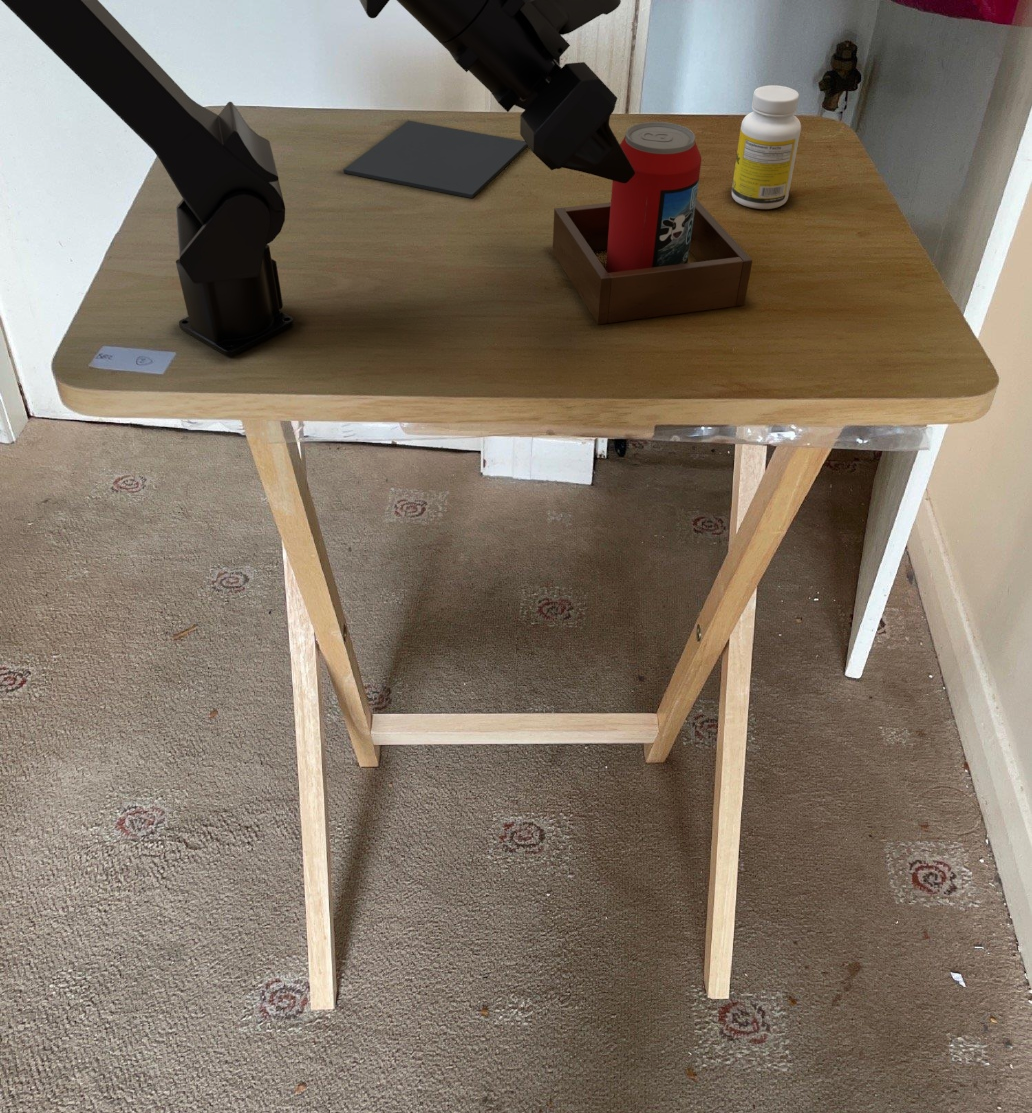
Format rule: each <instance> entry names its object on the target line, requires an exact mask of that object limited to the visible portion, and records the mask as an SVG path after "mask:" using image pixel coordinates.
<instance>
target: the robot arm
mask: <svg viewBox="0 0 1032 1113" xmlns="http://www.w3.org/2000/svg"><path fill="white" fill-rule="evenodd" d="M0 1H1V2H2V3H3V4H4V5H5V6H6V7H7V8H8V9H9V10H10V12H12V13H13V14H14V15H15V16H16V17H17V18H18V19H19V20H20V21H21V22H22V23H23V24H24V25H25V26H26V27H28V29H30V31H31V32H32V33H33V34H34V35H36V36H37V38H38V39H39V40H40V41H41V42H42V43H44V45H45V46H46V47H47V48H49V49H50V50H51V52H53V53H54V54H55V55H56V56H57V57H58V58H59V59H60V60H61V61H62V62H63V63H64V64H65V65H66V66H67V67H68V68H69V69H70V70H71V71H72V72H73V73H74V74H75V75H76V76H77V77H78V78H79V79H80V80H81V81H82V82H83V83H84V84H85V85H86V86H87V87H88V88H90V90H91V91H92V92H93V93H94V94H95V95H96V96H97V97H98V98H100V100H101V101H102V102H103V103H104V104H105V105H106V106H107V107H109V108H110V109H111V111H113V113H115V115H117V117H118V118H120V119H121V120H122V121H123V122H124V123H125V124H126V125H127V127H128V128H130V129H131V130H132V131H133V132H134V134H136V135H137V136H138V137H139V139H141V140H142V141H143V142H144V143H145V144H146V145H147V146H148V147H149V148H150V149H151V150H152V151H153V152H154V154H155V155H156V156H157V158H158V159H159V161H160V163H161V164H162V166H163V168H164V169H165V172H166V173H167V174H168V176H169V177H170V179H171V182H173V185H174V186H175V188H176V189H177V191H178V193H179V194H180V196H181V197H182V199H180V201H179V203H178V204H177V205H176V207H175V219H176V220H175V221H176V235H177V248H178V259H176V260H175V265H176V270H177V273H178V278H179V282H180V283H179V284H180V286H181V291H182V295H183V299H184V304H185V308H186V314H187V316H186V317H184V318H183V319H181V320H179V321H178V326H179V329H180V330H182V331H183V332H185V333H186V334H188V335H190V336H192V337H194V338H195V339H197V340H199V341H200V342H202V343H203V344H206V345H207V346H209V347H211V348H212V349H214V350H216V351H218V352H219V353H221V354H222V355H224V356H227V357H232V356H235V355H237V354H239V353H242V352H243V351H245V350H247V349H249V348H251V347H253V346H255V345H257V344H260V343H261V342H264V341H265V340H267V339H269V338H271V337H273V336H275V335H277V334H280V333H281V332H283V331H285V330H287V329H289V328H291V327H293V326H294V324H295V323H294V322H295V321H294V318H293V316H291V315H288V314H287V313H285V312H283V311H281V310H282V309H283V308H284V302H283V296H282V290H281V284H280V277H279V276H280V275H279V271H278V264H277V261H276V260H275V259H273V258H272V254H271V248H270V245H269V244H270V243H272V242H273V241H274V240H275V239H276V238H277V236H278V235H279V234H280V233H281V231H282V229H283V226H284V224H285V222H286V205H285V200H284V197H283V192H282V188H281V184H280V178H279V174H278V170H277V166H276V161H275V158H274V152H273V150H272V145H271V140H269V139H267V138H265V137H263V136H261V135H259V134H258V133H257V132H256V131H254V130H253V129H252V128H251V127H250V125H249V124H248V123H247V122H246V119H244V117H243V116H242V114H241V112H240V111H239V110H238V108H237V106H236V105H235V104H234V103H233V102H232V101H228V102H227V103H226V105H225V106H224V107H223V108H222V110H221V111H220V112H219V114H217V113H215V112H214V111H213V110H212V111H211V110H210V109H208V108H206V107H204V106H203V105H201V104H200V103H198V102H196V101H195V100H193V98H191V97H190V96H189V95H188V94H187V93H186V92H185V91H184V90H183V89H182V88H181V87H180V86H179V84H177V82H175V80H174V79H172V77H171V76H170V75H169V74H168V73H167V72H166V71H165V70H164V68H163V67H162V66H161V65H159V63H158V62H157V61H156V60H155V59H154V58H153V57H152V56H151V55H150V53H148V51H146V49H145V48H144V47H143V46H142V45H141V44H140V43H139V42H138V41H137V39H135V38H134V37H133V35H132V34H130V32H129V31H127V30H126V28H125V27H124V26H123V25H122V24H121V23H120V22H119V21H118V20H117V19H116V18H115V17H114V15H113V14H111V12H110V11H109V10H108V9H107V8H106V7H105V6H104V5H103V4H102V3H101V2H100V0H0ZM389 2H390V0H359V3H360V4H361V6H362V8H363V10H364V12H365V14H366V15H367V17H368V18H370V19H375V18H377V17H378V16H379V15H380V13H381V12H382V11H383V10H384V8H385V7H386V5H387V4H388V3H389ZM396 2H397V3H399V5H401V7H403V9H405V10H406V11H407V12H408V13H409V14H410V15H411V17H413V18H414V19H415V20H416V21H417V22H418V23H419V24H420V25H421V26H422V27H423V28H424V29H425V30H426V31H427V32H428V33H429V34H431V36H433V38H435V39H436V40H437V42H439V44H441V45H442V47H444V48H445V50H446V51H448V53H449V54H450V55H451V57H452V58H453V60H454V61H455V63H456V64H457V65H458V66H460V68H462V70H464V72H466V73H468V72H469V73H470V74H472V75H473V77H475V79H477V81H479V82H480V83H481V84H482V85H483V86H484V87H485V88H486V89H487V90H488V91H489V92H490V93H491V95H492V96H493V98H494V99H495V101H496V102H497V103H498V104H499V105H500V107H501V108H502V109H504V110H505V111H506V112H507V113H509V112H510V111H511V110H512V109H513V107H514V106H516V107H517V108H519V109H522V110H524V111H523V112H522V113H521V114H520V115H519V117H520V118H519V120H520V121H519V124H520V125H519V127H520V128H519V134H520V137H521V138H522V139H523V141H525V142H526V143H527V145H528V146H527V147H528V148H529V150H531V152H532V154H533V155H534V156H536V157H537V158H538V159H539V160H540V161H541V162H542V163H543V165H545V166H546V167H547V168H548V169H549V170H550V171H554V170H561V169H562V168H563V169H567V170H570V171H571V170H572V171H576V172H580V173H585V174H588V175H592V176H596V177H600V178H604V179H606V180H609V181H610V180H611V181H612V182H613V181H617V182H620V183H624V184H625V183H627V182H628V181H629V180H630V179H631V178H632V177H633V176H634V175H635V170H634V169H633V167H632V165H631V163H630V162H629V160H628V158H627V156H626V155H625V153H624V151H623V149H622V148H621V146H620V144H621V143H620V142H619V140H618V139H617V137H616V136H615V133H614V132H613V130H612V128H611V126H610V118H611V115H613V113H614V111H615V109H616V104H617V101H618V97H617V96H616V95H615V94H614V92H613V91H612V90H611V89H610V88H609V87H608V86H607V85H606V83H604V81H603V80H602V79H601V78H600V77H599V76H598V75H597V74H596V73H595V72H594V71H593V70H592V69H591V67H590V66H588V65H587V63H586V62H584V61H581V62H569V63H564V65H563V66H561V57H562V55H564V53H565V52H566V51H567V50H568V49H569V47H570V46H571V44H570V43H569V42H568V41H567V40H566V39H565V38H564V37H563V36H562V35H567V34H571V33H572V32H574V31H576V30H578V29H579V28H581V27H583V26H585V25H586V24H588V23H590V22H591V21H593V20H595V19H596V18H598V17H600V16H602V15H609V14H611V13H612V12H614V11H616V10H617V9H618V8H619V7H620V5H621V3H622V0H396Z"/></svg>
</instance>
